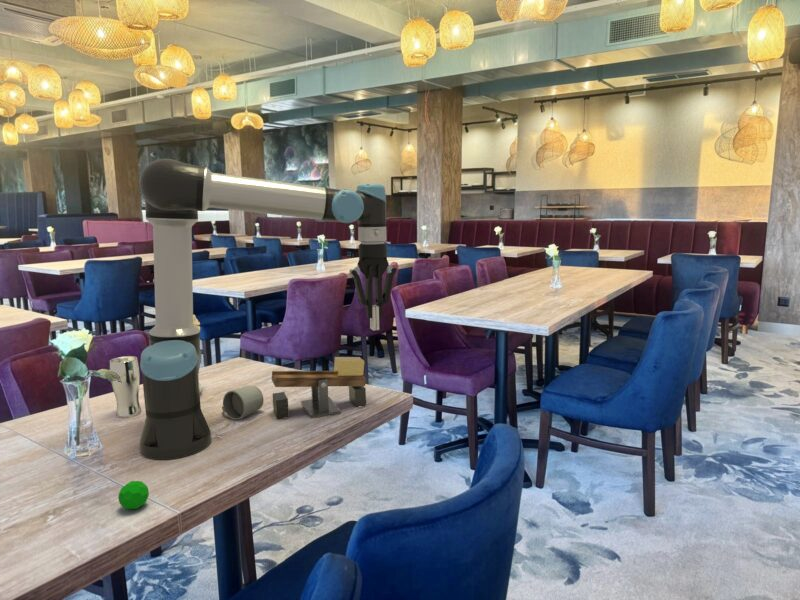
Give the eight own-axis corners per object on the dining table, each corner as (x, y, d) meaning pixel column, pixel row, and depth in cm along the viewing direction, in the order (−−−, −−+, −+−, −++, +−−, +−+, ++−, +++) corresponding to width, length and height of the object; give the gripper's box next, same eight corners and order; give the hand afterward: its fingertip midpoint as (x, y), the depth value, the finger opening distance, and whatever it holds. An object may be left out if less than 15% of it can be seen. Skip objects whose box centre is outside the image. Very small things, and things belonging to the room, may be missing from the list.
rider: (337, 379, 149) (339, 361, 148) (333, 374, 153) (334, 356, 152) (362, 379, 151) (364, 361, 151) (357, 374, 155) (359, 357, 155)
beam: (275, 387, 142) (276, 378, 141) (271, 379, 148) (272, 371, 148) (365, 385, 151) (365, 377, 150) (358, 379, 157) (358, 370, 156)
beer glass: (129, 407, 153) (123, 355, 151) (149, 410, 151) (144, 356, 149) (108, 416, 147) (102, 361, 144) (129, 419, 145) (123, 363, 142)
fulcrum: (279, 423, 141) (277, 388, 139) (271, 407, 152) (269, 375, 150) (369, 409, 149) (368, 376, 148) (356, 395, 160) (355, 364, 159)
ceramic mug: (266, 411, 149) (264, 383, 148) (245, 422, 142) (242, 393, 141) (236, 406, 154) (234, 379, 153) (214, 416, 147) (212, 388, 145)
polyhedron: (146, 497, 105) (143, 473, 105) (152, 508, 102) (150, 483, 101) (117, 506, 103) (114, 482, 102) (122, 517, 99) (120, 492, 98)
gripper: (352, 244, 143) (355, 334, 147) (400, 242, 148) (402, 329, 152) (344, 243, 150) (347, 328, 154) (391, 241, 155) (392, 324, 159)
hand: (374, 329), depth 153 cm, fingers closed
